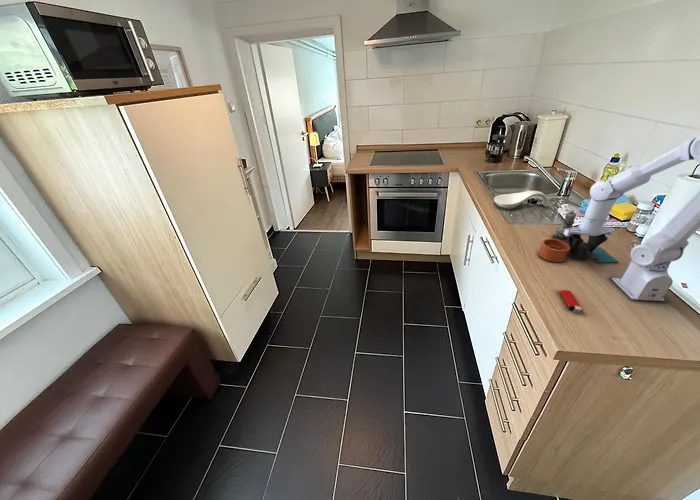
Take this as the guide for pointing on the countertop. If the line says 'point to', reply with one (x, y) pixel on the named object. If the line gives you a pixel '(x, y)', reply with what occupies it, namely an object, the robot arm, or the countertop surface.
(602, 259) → the cloth
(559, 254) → the bowl
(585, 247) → the scoop
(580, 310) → the lighter
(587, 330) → the countertop surface
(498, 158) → the french press
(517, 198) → the spoon rest
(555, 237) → the grey tall lumpy piece
